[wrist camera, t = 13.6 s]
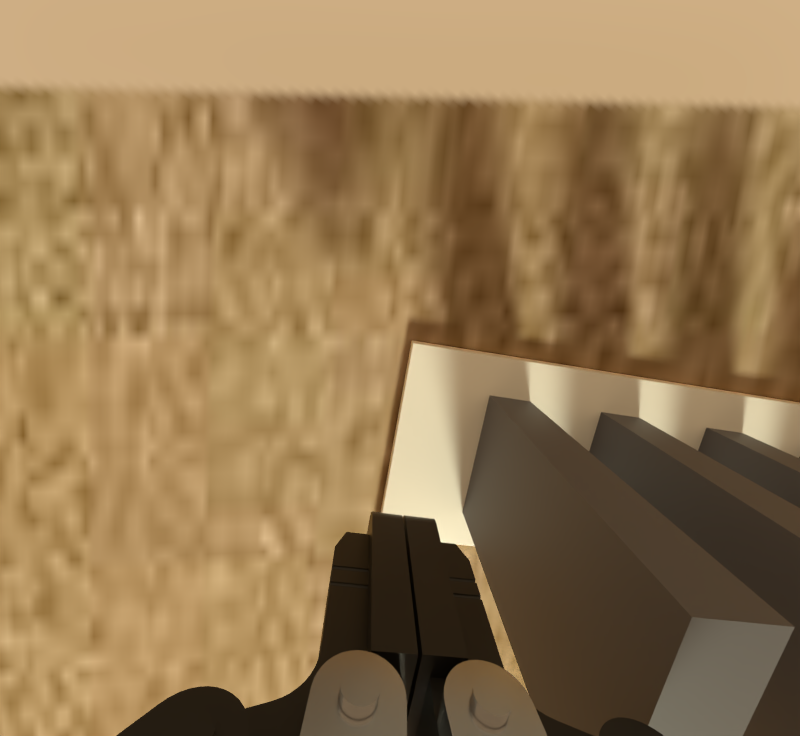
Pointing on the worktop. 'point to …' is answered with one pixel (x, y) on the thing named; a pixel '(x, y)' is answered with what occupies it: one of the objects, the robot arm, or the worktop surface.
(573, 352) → the worktop surface
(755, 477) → the domino
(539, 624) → the domino
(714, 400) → the strip
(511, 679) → the robot arm
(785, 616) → the domino
